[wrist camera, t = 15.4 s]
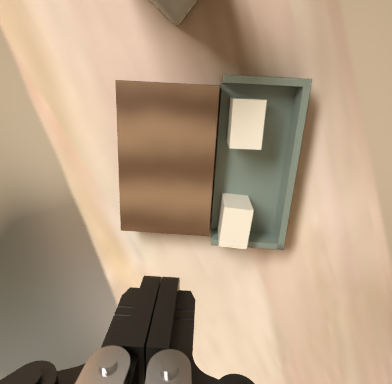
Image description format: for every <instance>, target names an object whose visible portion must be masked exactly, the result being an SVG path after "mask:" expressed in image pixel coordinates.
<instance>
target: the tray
mask: <svg viewBox="0 0 392 384" xmlns="http://www.w3.org/2000/svg"><path fill="white" fill-rule="evenodd" d="M311 83H312V79H302V78H283V77H264V76H245V75H226V74H224V75H223V76H222V87H221V101H220V114H219V128H218V141H217V154H216V168H215V181H214V194H213V208H212V221H211V245H219V244H218V228H217V227H218V220H219V213H220V206H221V199H222V193H229V194H238V195H247V196H248V197H249V199H250V202H251V205H252V207H253V210H254V211H253V217H252V222H251V228H250V234H249V239H248V245H247V247H250V248H265V249H280V250H284V244H285V238H286V232H287V226H288V220H289V214H290V208H291V202H292V196H293V190H294V184H295V178H296V172H297V166H298V160H299V154H300V148H301V143H302V137H303V131H304V125H305V119H306V113H307V107H308V101H309V95H310V89H311ZM230 98H249V99H263V100H267V102H266V111H265V120H264V129H263V138H262V147H261V150H254V149H232V148H229V146H228V143H227V130H228V116H229V102H230Z"/></svg>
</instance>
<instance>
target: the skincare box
mask: <svg viewBox="0 0 392 384" xmlns="http://www.w3.org/2000/svg"><path fill="white" fill-rule="evenodd" d="M149 1H151V2H152V3H153V4H154V5H155V6H156V7H157V8H158V9H159V10H160V11H161V12H162V13H163V14H164V15H165V16H166V17H167V18H169V19H170V20H171V21H172V22H173V23H174V24H175V25H176V26H178V25H179V24H180V23H181V21H182V20H183V19H184V18H185V16H186V15H187V14H188V12H189V11H190V10H191V9H192V7H193V6H194V5H195V3H196V2H197V1H198V0H149Z"/></svg>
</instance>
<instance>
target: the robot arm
mask: <svg viewBox="0 0 392 384" xmlns="http://www.w3.org/2000/svg"><path fill="white" fill-rule="evenodd" d="M179 283H180V279H179V278H174V277H156V276H144V277H143V280H142V283H141V286H140V288H129V289H128V290H127V291H126V292H125V293H124V294H123V295H122V297H121V299H120V302H119V304H118V307H117V309H116V312H115V316H114V317H113V319H112V322H111V324H110V327H109V329H108V332H107V334H106V337H105V339H104V342H103V344H102V347H101V348H100V349H98V350H97V351H95V352H94V353H93V354H92V355H91V356H90V357H89V358H88V360H87V362H86V363H85V364H83V365H80V366H77V367H74V368H70V369H66V370H61V371H57V370H56V368H55V366H54V365H53V364H52V363H50V362H47V361H35V362H31V363H28V364H26V365H24V366H22V367H21V368H19V369H18V370H16V371H14V372H13V373H11V374H10V375H8V376H6V377H5V378H3V379H2V380H0V384H254V383H253V382H252V381H251V380H250V379H249V378H247V377H245V376H243V375H239V374H228V375H225V376H224V377H222V378H221V379H219V380H218V379H216V378H213V377H211V376H209V375H207V374H205V373H203V372H202V371H201V370H200V369H199V368H198V367H197V366H196V364H195V362H194V360H193V356H192V351H193V333H194V314H195V299H194V297H193V295H192V293H191V291H182V290H179Z"/></svg>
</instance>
